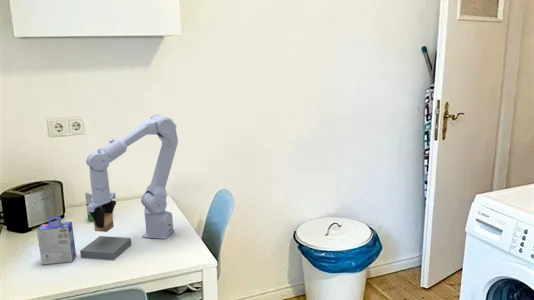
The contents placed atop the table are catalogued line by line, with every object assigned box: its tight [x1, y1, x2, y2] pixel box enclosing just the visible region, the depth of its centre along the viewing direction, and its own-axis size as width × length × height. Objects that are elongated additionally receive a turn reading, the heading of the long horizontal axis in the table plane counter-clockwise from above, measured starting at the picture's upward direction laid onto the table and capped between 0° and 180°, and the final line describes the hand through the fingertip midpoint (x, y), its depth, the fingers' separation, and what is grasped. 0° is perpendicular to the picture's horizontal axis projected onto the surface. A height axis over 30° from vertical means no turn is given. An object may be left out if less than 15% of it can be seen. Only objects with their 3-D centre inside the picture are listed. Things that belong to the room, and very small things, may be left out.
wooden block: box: [93, 213, 114, 233], centre depth 161 cm, size 4×4×5 cm
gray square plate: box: [79, 235, 132, 261], centre depth 160 cm, size 12×12×3 cm
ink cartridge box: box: [36, 216, 77, 265], centre depth 152 cm, size 10×6×14 cm, turn 101°
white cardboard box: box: [84, 189, 102, 223], centre depth 189 cm, size 9×5×12 cm, turn 143°
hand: (104, 224), depth 161 cm, fingers closed on wooden block, 4 cm apart
